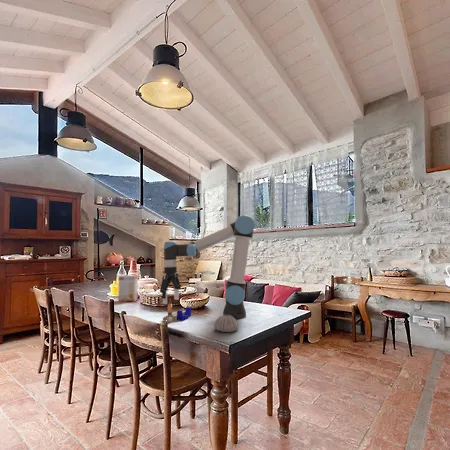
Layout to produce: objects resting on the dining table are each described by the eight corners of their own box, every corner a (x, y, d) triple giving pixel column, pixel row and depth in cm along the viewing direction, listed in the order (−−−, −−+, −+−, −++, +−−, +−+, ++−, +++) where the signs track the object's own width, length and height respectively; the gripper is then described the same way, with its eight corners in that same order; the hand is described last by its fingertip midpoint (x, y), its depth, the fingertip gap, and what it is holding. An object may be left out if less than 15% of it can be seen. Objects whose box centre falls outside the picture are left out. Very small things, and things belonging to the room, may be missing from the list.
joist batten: (186, 315, 192) (186, 311, 192) (170, 323, 173) (170, 318, 173) (179, 315, 194) (179, 310, 194) (162, 322, 175) (162, 317, 175)
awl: (172, 320, 179) (172, 304, 179) (170, 321, 176) (170, 305, 177) (169, 320, 180) (169, 304, 180) (166, 321, 177) (166, 304, 178)
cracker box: (137, 300, 244) (137, 275, 246) (134, 302, 238) (134, 276, 240) (121, 300, 246) (122, 275, 247) (118, 301, 240) (118, 275, 241)
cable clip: (183, 321, 179) (183, 311, 179) (176, 320, 181) (177, 310, 181) (193, 316, 190) (193, 307, 190) (187, 316, 192) (187, 306, 192)
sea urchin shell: (225, 325, 169) (225, 311, 170) (244, 329, 160) (243, 314, 160) (209, 330, 159) (209, 315, 160) (227, 335, 150) (227, 319, 151)
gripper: (164, 268, 167) (165, 306, 166) (185, 265, 190) (186, 298, 189) (153, 268, 170) (153, 305, 168) (175, 265, 193) (175, 297, 191)
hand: (170, 301), depth 179 cm, fingers open, 13 cm apart
